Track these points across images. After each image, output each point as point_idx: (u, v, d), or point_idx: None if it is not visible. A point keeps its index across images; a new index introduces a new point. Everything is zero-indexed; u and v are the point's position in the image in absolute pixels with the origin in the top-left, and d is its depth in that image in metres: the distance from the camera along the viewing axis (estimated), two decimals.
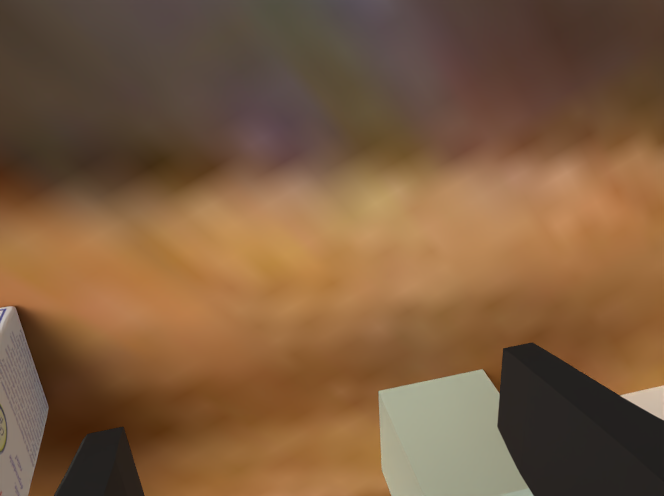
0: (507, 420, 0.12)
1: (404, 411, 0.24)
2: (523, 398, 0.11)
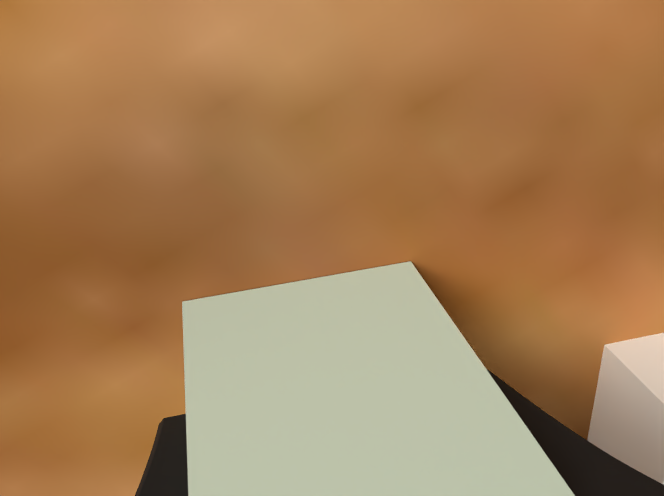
0: None
1: (221, 339, 0.11)
2: None
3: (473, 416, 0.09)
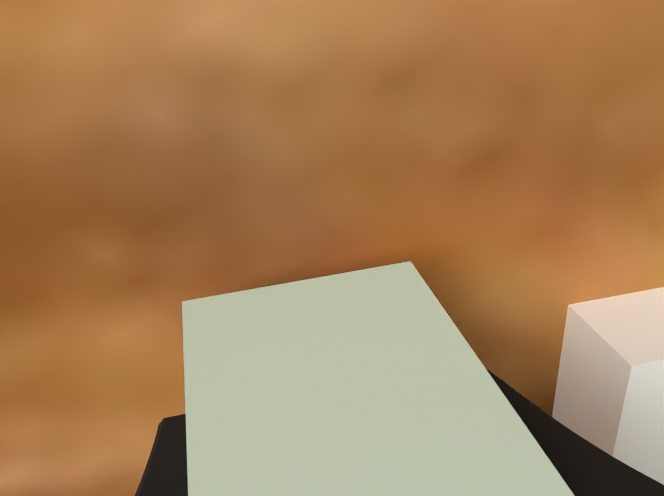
0: None
1: (221, 339, 0.11)
2: None
3: (472, 417, 0.09)
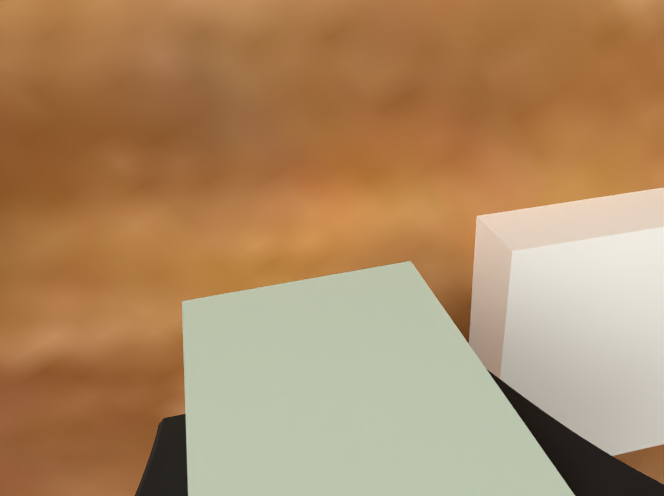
0: None
1: (221, 339, 0.11)
2: None
3: (472, 416, 0.09)
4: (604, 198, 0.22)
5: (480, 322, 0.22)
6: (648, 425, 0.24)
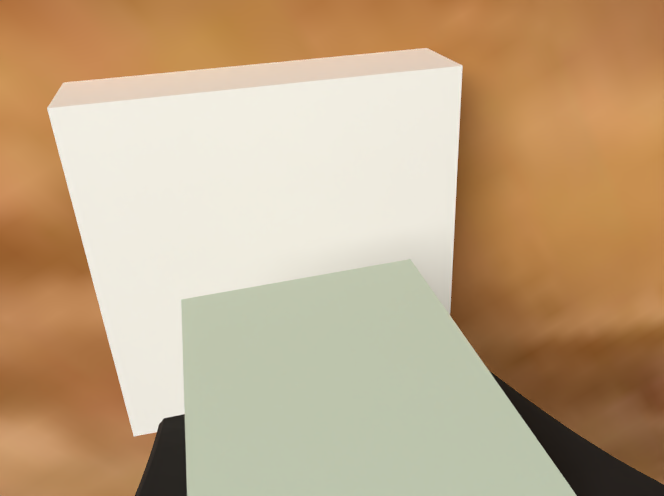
0: None
1: (220, 337, 0.11)
2: None
3: (472, 414, 0.09)
4: (242, 66, 0.17)
5: None
6: None
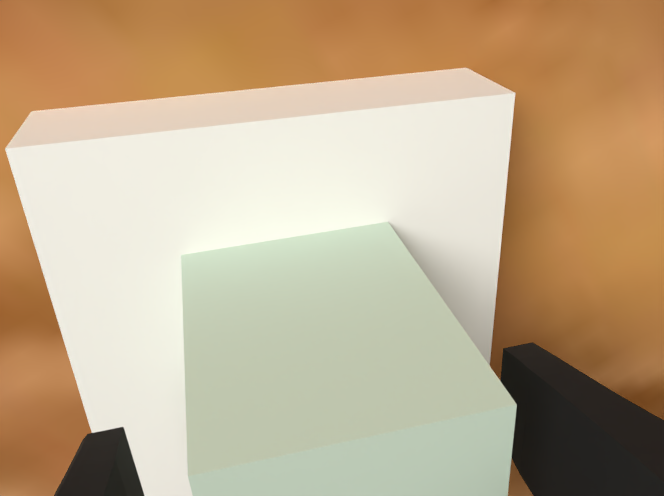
0: None
1: (215, 284, 0.12)
2: (523, 398, 0.11)
3: (432, 342, 0.10)
4: (248, 90, 0.14)
5: None
6: None
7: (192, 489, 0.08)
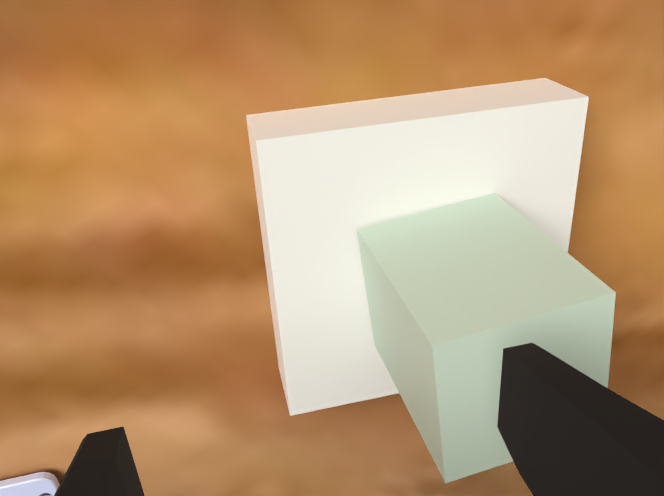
0: (507, 420, 0.12)
1: (391, 245, 0.18)
2: (523, 398, 0.11)
3: (552, 264, 0.16)
4: (392, 97, 0.20)
5: (263, 235, 0.20)
6: None
7: (433, 354, 0.14)
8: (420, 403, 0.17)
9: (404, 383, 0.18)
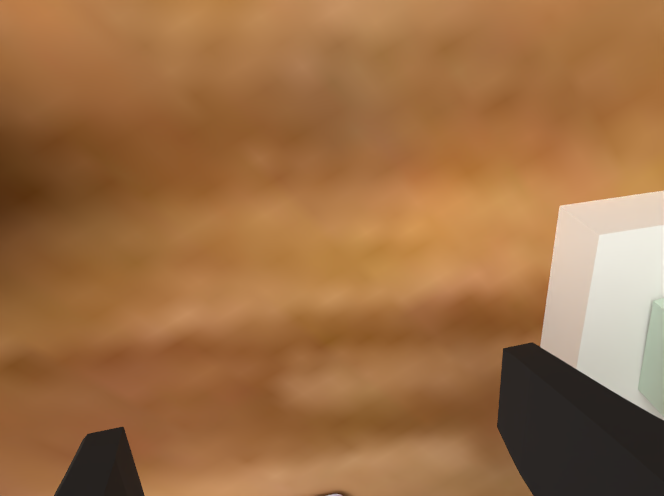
0: (507, 420, 0.12)
1: None
2: (523, 398, 0.11)
3: None
4: None
5: (558, 301, 0.25)
6: None
7: None
8: None
9: None
